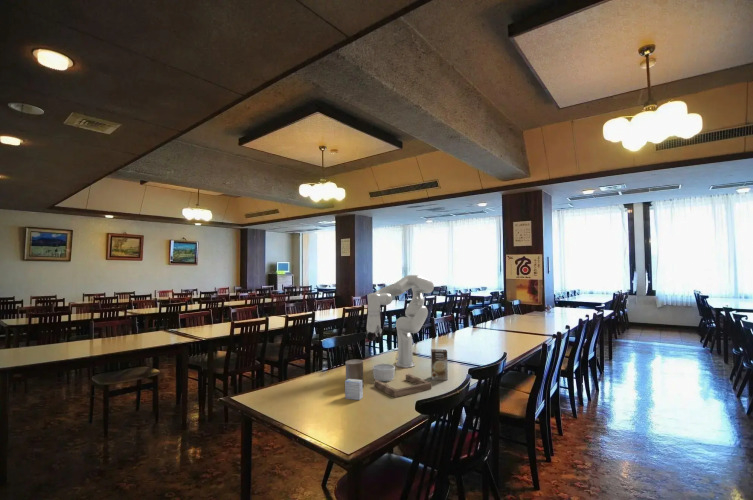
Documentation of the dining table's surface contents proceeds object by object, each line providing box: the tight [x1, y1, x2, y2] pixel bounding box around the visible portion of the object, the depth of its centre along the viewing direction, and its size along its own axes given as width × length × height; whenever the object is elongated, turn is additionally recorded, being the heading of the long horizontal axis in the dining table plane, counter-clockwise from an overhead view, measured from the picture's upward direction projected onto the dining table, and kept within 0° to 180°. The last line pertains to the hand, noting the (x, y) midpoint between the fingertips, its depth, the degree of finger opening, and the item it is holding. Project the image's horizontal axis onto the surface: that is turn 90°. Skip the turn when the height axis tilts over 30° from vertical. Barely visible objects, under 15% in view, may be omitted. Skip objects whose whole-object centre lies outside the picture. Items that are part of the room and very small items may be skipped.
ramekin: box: [372, 363, 396, 383], centre depth 208 cm, size 13×13×7 cm
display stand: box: [373, 373, 432, 398], centre depth 192 cm, size 20×23×3 cm
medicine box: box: [344, 379, 364, 401], centre depth 177 cm, size 8×4×9 cm, turn 71°
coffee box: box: [430, 348, 449, 381], centre depth 207 cm, size 9×6×16 cm
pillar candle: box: [344, 358, 365, 388], centre depth 194 cm, size 10×10×15 cm
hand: (374, 341), depth 219 cm, fingers open, 9 cm apart
